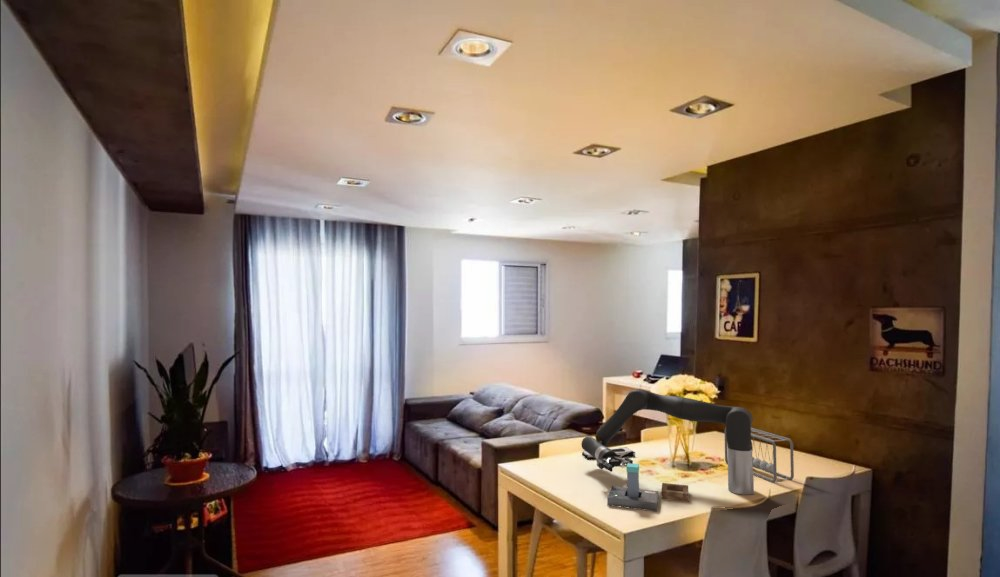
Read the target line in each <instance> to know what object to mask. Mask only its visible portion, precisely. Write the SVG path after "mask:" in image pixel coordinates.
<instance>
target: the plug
mask: <svg viewBox="0 0 1000 577" xmlns="http://www.w3.org/2000/svg"><path fill="white" fill-rule="evenodd" d="M625 468H626V475H627V476H626V478H627V479H626V480H627V481H626V483H627V487H626V488H627V496H629V497H638V498H639V489H640V480H639V479H640V478H639V476H640V474H639V472H640V464H639V463H633V464H631V463H627V466H626V467H625Z"/></svg>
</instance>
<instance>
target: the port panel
mask: <svg viewBox="0 0 1000 577" xmlns="http://www.w3.org/2000/svg"><path fill="white" fill-rule="evenodd" d="M659 496H660V495H659V490H649V489H642V488H639V498H638V497H629V496H627V487H624V486H623V487H621V486H613V485H611V487H610V490H609V493H608V494H607V498H606V501H607V502H606V503H607V506H608V505H613V506H612V507H617V506H621V507H620V508H625V507H629V508H628V509H634V508H636V509H635V510H642V509H645V510H644V511H653V512H657V511H658V507H659V506H658V505H659Z"/></svg>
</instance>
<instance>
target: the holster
mask: <svg viewBox="0 0 1000 577" xmlns="http://www.w3.org/2000/svg"><path fill="white" fill-rule="evenodd" d="M660 491H661V492H660V494H661V495H660V496H661V497H660V498H661V499H662V500H668V501H679V502H687V503H688V502H689V485H688V484H687V485H686V484H678V483H677V484H676V483H668V482H662V483H661V490H660Z"/></svg>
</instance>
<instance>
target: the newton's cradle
mask: <svg viewBox="0 0 1000 577" xmlns="http://www.w3.org/2000/svg"><path fill="white" fill-rule="evenodd" d="M751 432H754V433H751V438H752V439H753V440H752V444H753V447H752V452H753V450H755V453H757V450H756V449H753V448H754V447H756V445H755V439H758V440H759V446H758V447H759V448H758V450H760V452H763V450H762V447H761V446H762V444H761V440H762V441H764V442H766V443H770V444H771V445H772V457H771V458H772V461H771V459H770V456H768V458H769V461H770V462H768V461H766V459H760V458H759V456H760V453H758V454H755V456H756V458H755V457H754V456H752V461H753V468H756V467H757V468H756V469H759V470H761V469H762V471H764V470H765V472H767V473H769V472H770V473H769V474H772V475H773V479H772V478H769V477H767V476H764V475H762V474H759V473H756V472H754V471H753V475H754V477H757V476H758V478H761V479H762V478H763V480H766V481H767V480H768V482H770V483H776V482H777V481H783V480H788V479H789V480H788V481H792V480H793V479H794V477H795V475H794V472H795V469H794V468H795V465H794V464H795V463H794V460H795V459H794V442H793V441H792V439H791V438H789V437H785V436H781V435H778V434H774V433H771V432H767V431H764V430H761V429H757V428H755V427H751ZM756 433H757V434H756ZM759 434H760V435H759ZM762 435H764V436H762ZM766 436H767V437H766ZM769 437H770V438H769ZM773 439H774V440H773ZM776 439H777V440H776ZM782 441H783V442H784V441H787V442H789V445H790V446H789V447H790V448H789V449H790V452H789V453H790V454H789V455H790V456H789V457H790V476H788V475H785V474H781V473H779V472H777V471H778V470H777V445H776V443H775V442H782ZM765 449H769V446H768V444H766V448H765ZM767 453H768V455H770V454H769V451H767V452H765V454H764V455H765V456H763V453H761V455H762V457H766V454H767ZM757 455H758V456H757ZM724 461H725V463H726V465H728V446H727V439H726V427H725V428H724ZM777 475H778V477H780V479H778V478H777Z"/></svg>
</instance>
